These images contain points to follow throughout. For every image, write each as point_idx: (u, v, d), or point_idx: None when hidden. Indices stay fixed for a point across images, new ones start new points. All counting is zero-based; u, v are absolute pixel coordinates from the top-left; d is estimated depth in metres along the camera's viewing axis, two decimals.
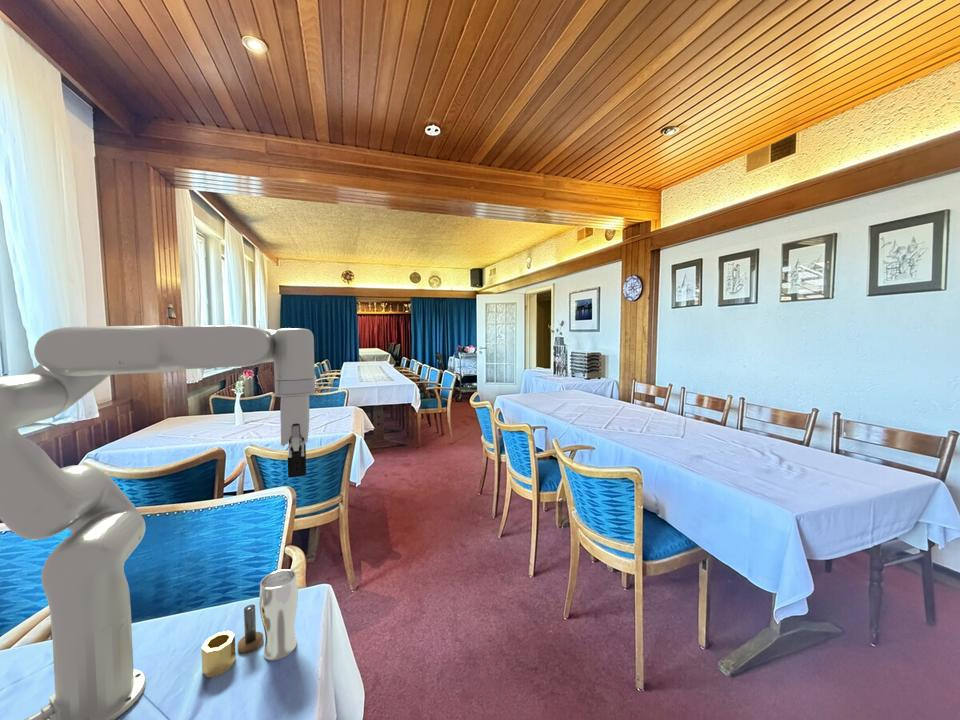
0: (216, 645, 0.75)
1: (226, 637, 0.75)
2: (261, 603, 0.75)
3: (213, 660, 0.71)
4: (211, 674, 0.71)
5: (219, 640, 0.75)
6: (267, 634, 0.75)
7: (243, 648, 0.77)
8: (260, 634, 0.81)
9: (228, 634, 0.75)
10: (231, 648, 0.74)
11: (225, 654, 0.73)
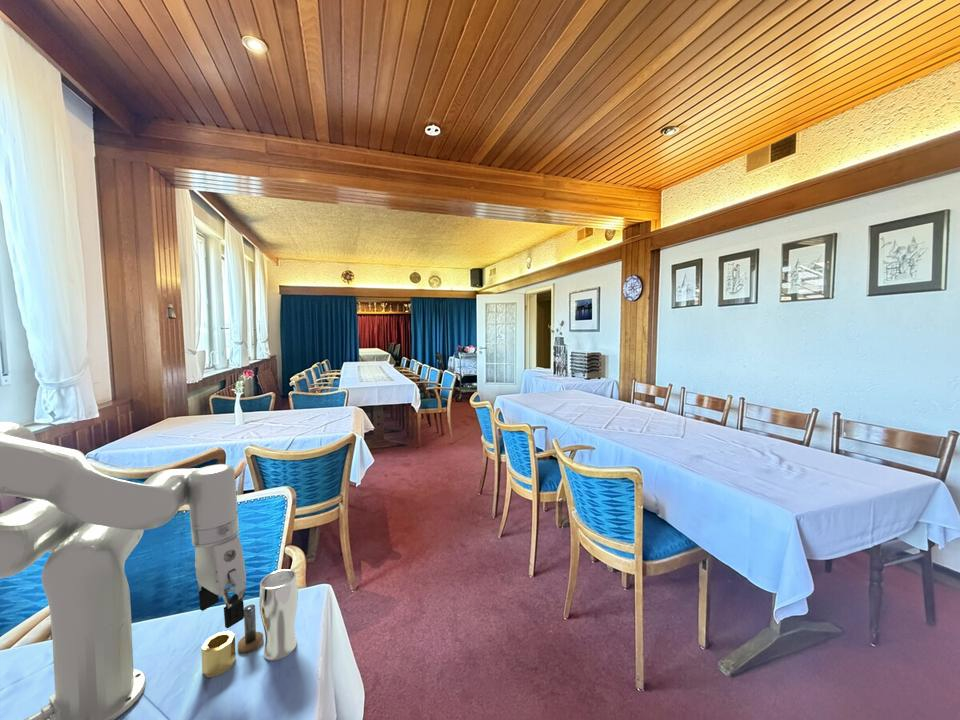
0: (216, 645, 0.75)
1: (226, 637, 0.75)
2: (261, 603, 0.75)
3: (213, 660, 0.71)
4: (211, 674, 0.71)
5: (219, 640, 0.75)
6: (267, 634, 0.75)
7: (243, 648, 0.77)
8: (260, 634, 0.81)
9: (228, 634, 0.75)
10: (231, 648, 0.74)
11: (225, 654, 0.73)
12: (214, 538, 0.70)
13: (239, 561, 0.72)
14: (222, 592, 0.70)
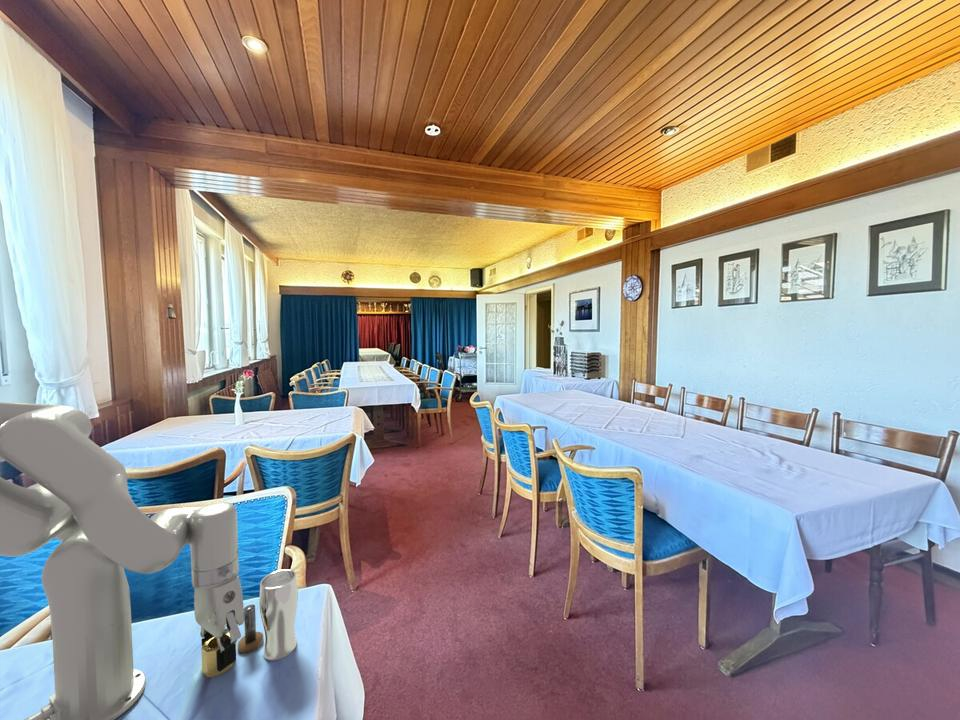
0: (216, 645, 0.75)
1: (226, 637, 0.75)
2: (261, 603, 0.75)
3: (213, 660, 0.71)
4: (211, 674, 0.71)
5: None
6: (267, 634, 0.75)
7: (243, 648, 0.77)
8: (260, 634, 0.81)
9: (228, 634, 0.75)
10: None
11: None
12: (214, 579, 0.70)
13: (238, 602, 0.72)
14: (220, 634, 0.70)
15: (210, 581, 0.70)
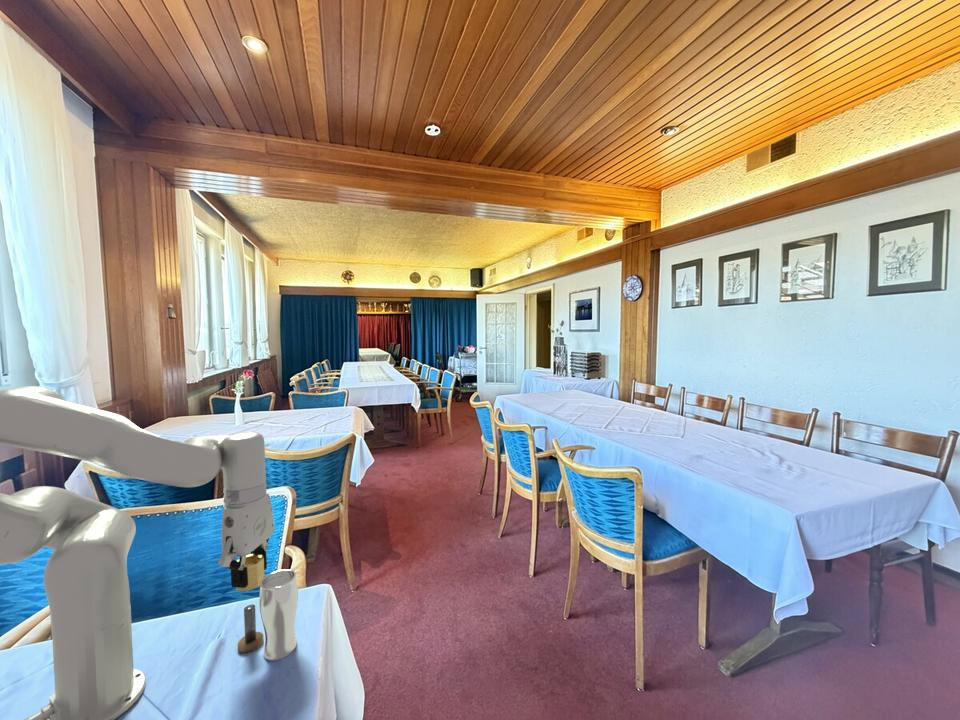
0: None
1: None
2: (261, 603, 0.75)
3: None
4: None
5: None
6: (267, 634, 0.75)
7: (243, 648, 0.77)
8: (260, 634, 0.81)
9: (258, 560, 0.78)
10: None
11: None
12: None
13: (236, 532, 0.73)
14: None
15: None
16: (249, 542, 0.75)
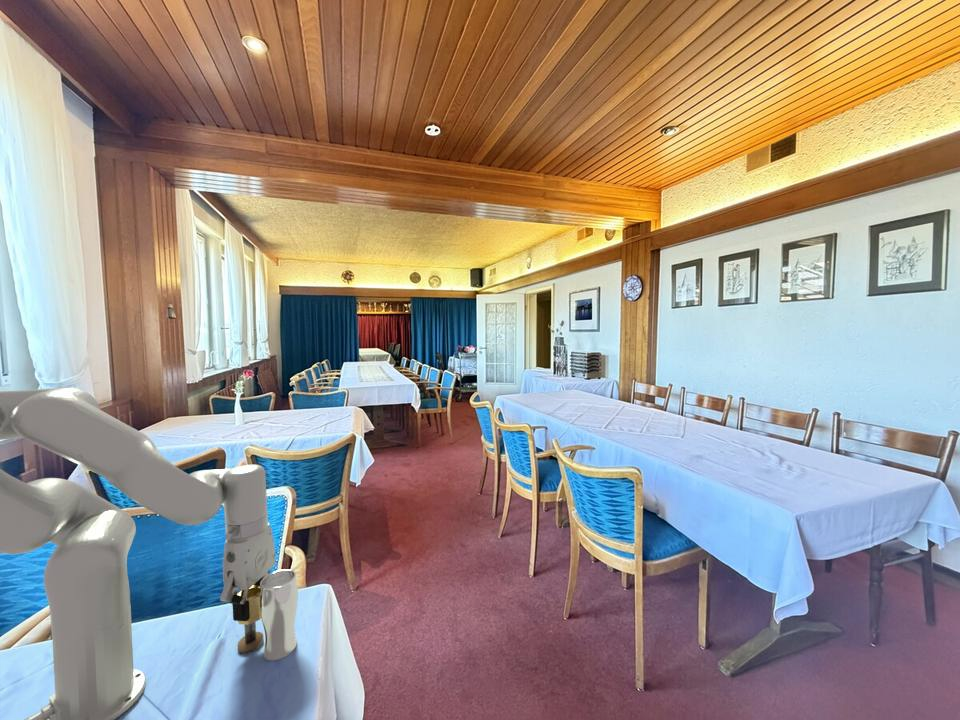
0: None
1: None
2: (261, 603, 0.75)
3: None
4: None
5: (259, 592, 0.80)
6: (267, 634, 0.75)
7: (243, 648, 0.77)
8: (260, 634, 0.81)
9: (259, 592, 0.79)
10: (249, 607, 0.77)
11: None
12: None
13: (237, 567, 0.73)
14: None
15: (226, 533, 0.75)
16: (251, 576, 0.75)
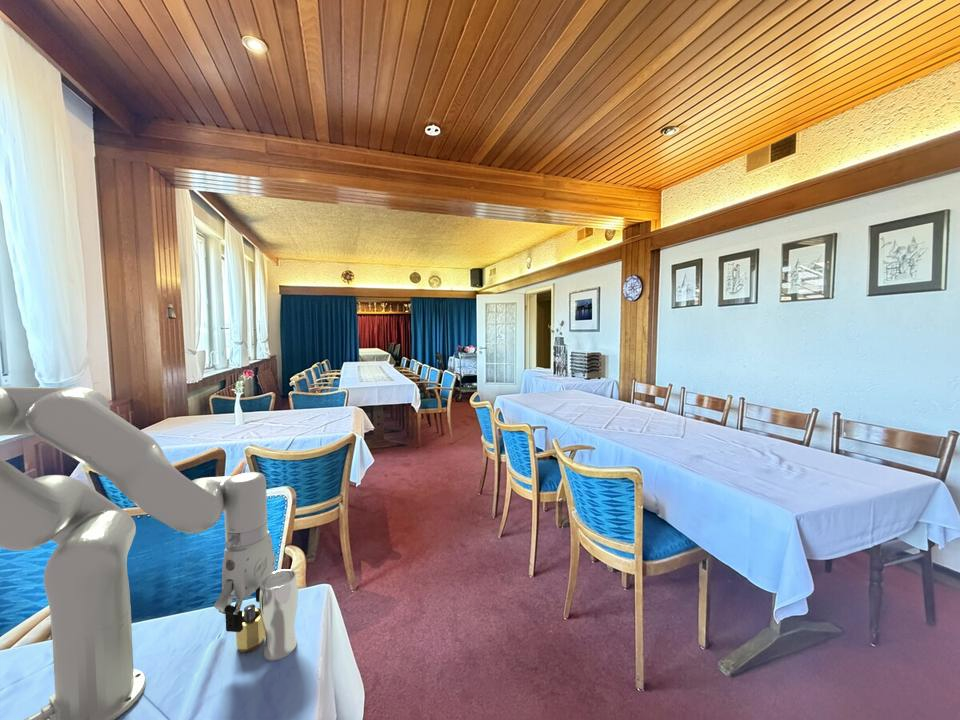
0: (257, 619, 0.81)
1: None
2: (261, 603, 0.75)
3: None
4: (236, 642, 0.78)
5: None
6: (267, 634, 0.75)
7: None
8: None
9: (259, 616, 0.79)
10: (248, 631, 0.77)
11: (241, 633, 0.77)
12: None
13: (237, 575, 0.73)
14: None
15: (226, 541, 0.75)
16: (250, 584, 0.75)
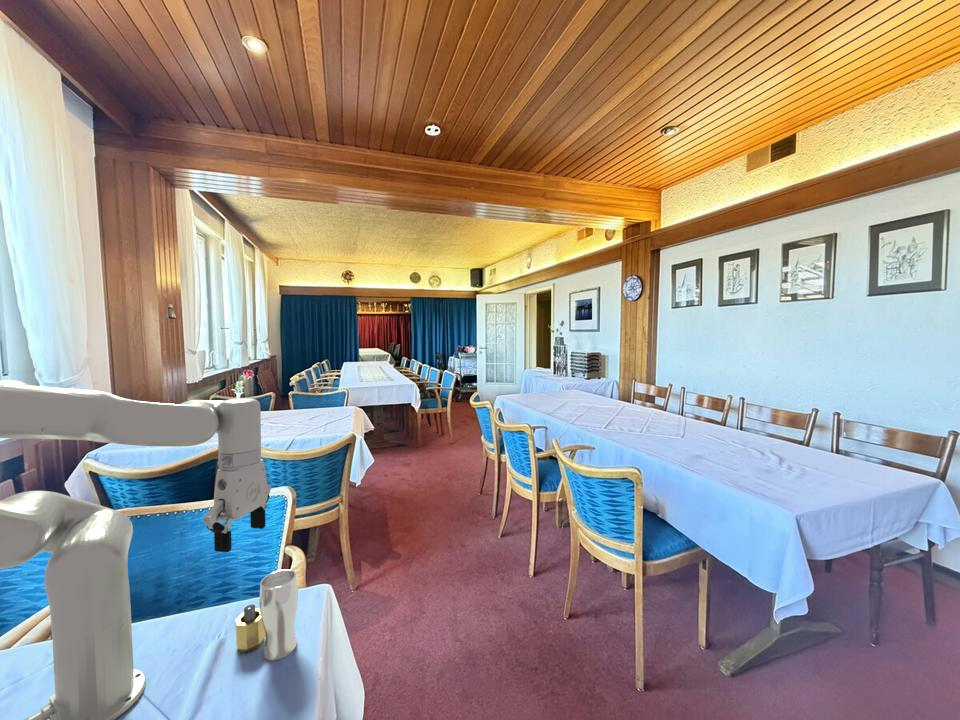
0: (257, 619, 0.81)
1: None
2: (261, 603, 0.75)
3: (236, 631, 0.77)
4: (236, 642, 0.78)
5: None
6: (267, 634, 0.75)
7: None
8: None
9: (259, 616, 0.79)
10: (248, 631, 0.77)
11: (241, 633, 0.77)
12: None
13: (228, 494, 0.73)
14: None
15: None
16: (241, 506, 0.75)
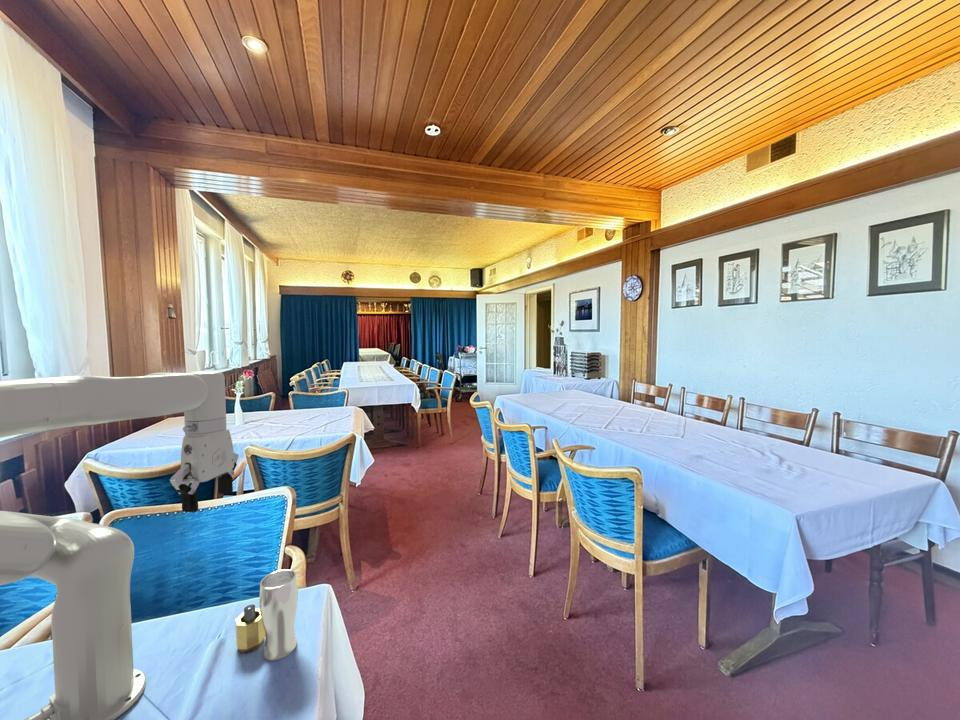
0: (257, 619, 0.81)
1: None
2: (261, 603, 0.75)
3: (236, 631, 0.77)
4: (236, 642, 0.78)
5: None
6: (267, 634, 0.75)
7: None
8: None
9: (259, 616, 0.79)
10: (248, 631, 0.77)
11: (241, 633, 0.77)
12: None
13: (194, 458, 0.79)
14: None
15: None
16: (207, 470, 0.80)
